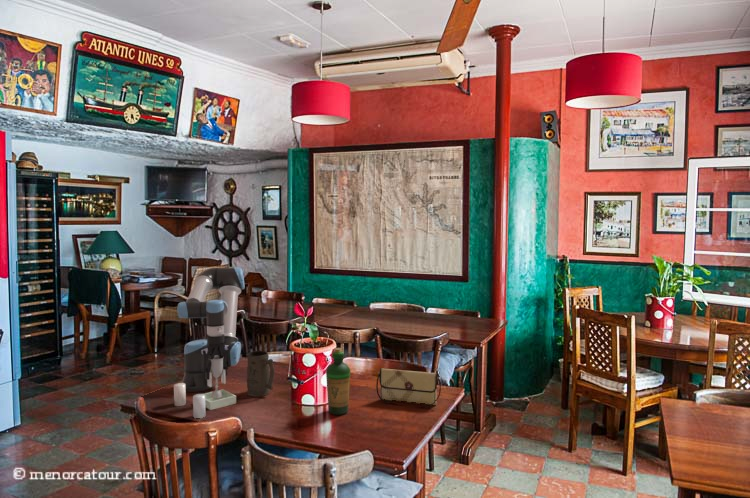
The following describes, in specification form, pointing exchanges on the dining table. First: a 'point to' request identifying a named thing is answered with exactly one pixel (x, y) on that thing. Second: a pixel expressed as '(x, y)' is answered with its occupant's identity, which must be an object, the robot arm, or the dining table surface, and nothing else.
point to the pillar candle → (199, 406)
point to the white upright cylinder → (179, 394)
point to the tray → (219, 400)
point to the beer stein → (259, 374)
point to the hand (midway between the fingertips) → (216, 384)
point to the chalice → (216, 373)
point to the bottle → (338, 384)
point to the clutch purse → (408, 386)
